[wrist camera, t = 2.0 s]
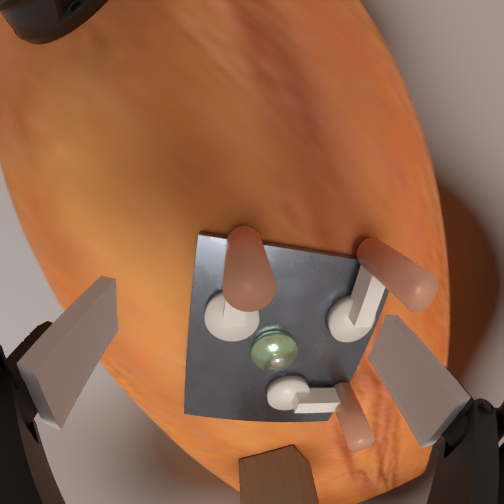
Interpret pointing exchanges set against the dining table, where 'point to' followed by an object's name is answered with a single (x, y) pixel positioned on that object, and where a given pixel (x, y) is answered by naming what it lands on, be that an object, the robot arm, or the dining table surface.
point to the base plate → (270, 334)
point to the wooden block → (277, 478)
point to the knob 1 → (241, 287)
